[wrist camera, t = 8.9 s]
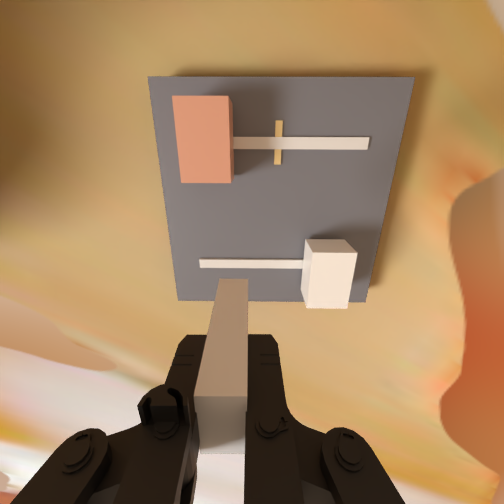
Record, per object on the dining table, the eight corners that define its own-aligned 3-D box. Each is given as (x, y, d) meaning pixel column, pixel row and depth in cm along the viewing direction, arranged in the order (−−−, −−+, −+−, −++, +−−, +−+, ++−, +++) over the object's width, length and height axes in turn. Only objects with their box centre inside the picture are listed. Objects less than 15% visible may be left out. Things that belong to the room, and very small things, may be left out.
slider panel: (183, 289, 31) (177, 302, 29) (158, 83, 23) (146, 75, 20) (357, 290, 31) (366, 303, 28) (398, 84, 22) (417, 76, 20)
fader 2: (300, 289, 28) (306, 308, 24) (305, 239, 25) (312, 252, 22) (336, 289, 28) (347, 308, 24) (344, 239, 25) (357, 252, 22)
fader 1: (191, 177, 23) (181, 182, 20) (184, 103, 21) (171, 95, 17) (234, 178, 23) (230, 183, 20) (232, 103, 21) (228, 95, 17)
